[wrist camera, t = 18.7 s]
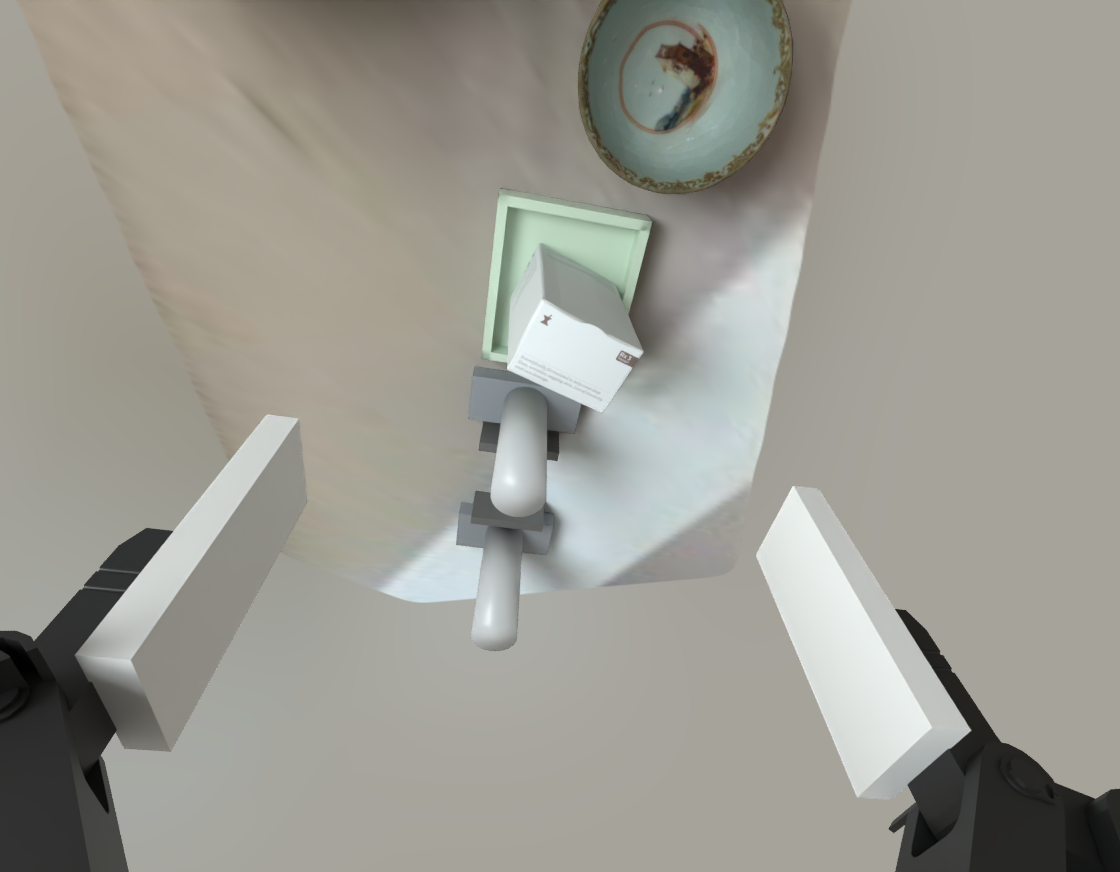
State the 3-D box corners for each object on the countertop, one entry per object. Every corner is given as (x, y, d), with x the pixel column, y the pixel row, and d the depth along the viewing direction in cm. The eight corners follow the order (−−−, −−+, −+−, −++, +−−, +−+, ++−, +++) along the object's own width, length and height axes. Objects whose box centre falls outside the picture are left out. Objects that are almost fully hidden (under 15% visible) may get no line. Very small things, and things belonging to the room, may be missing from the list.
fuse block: (458, 533, 67) (435, 647, 54) (474, 366, 55) (450, 462, 41) (547, 543, 68) (546, 657, 55) (583, 382, 56) (593, 480, 43)
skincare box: (510, 296, 50) (496, 370, 38) (540, 236, 47) (537, 296, 35) (588, 337, 52) (600, 420, 40) (623, 283, 50) (646, 354, 37)
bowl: (785, -11, 39) (833, -28, 32) (719, 191, 46) (747, 211, 39) (596, -61, 37) (606, -89, 30) (559, 157, 44) (560, 172, 38)
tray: (484, 347, 54) (481, 358, 51) (501, 188, 46) (498, 193, 43) (609, 366, 55) (612, 378, 53) (647, 215, 47) (652, 222, 45)
